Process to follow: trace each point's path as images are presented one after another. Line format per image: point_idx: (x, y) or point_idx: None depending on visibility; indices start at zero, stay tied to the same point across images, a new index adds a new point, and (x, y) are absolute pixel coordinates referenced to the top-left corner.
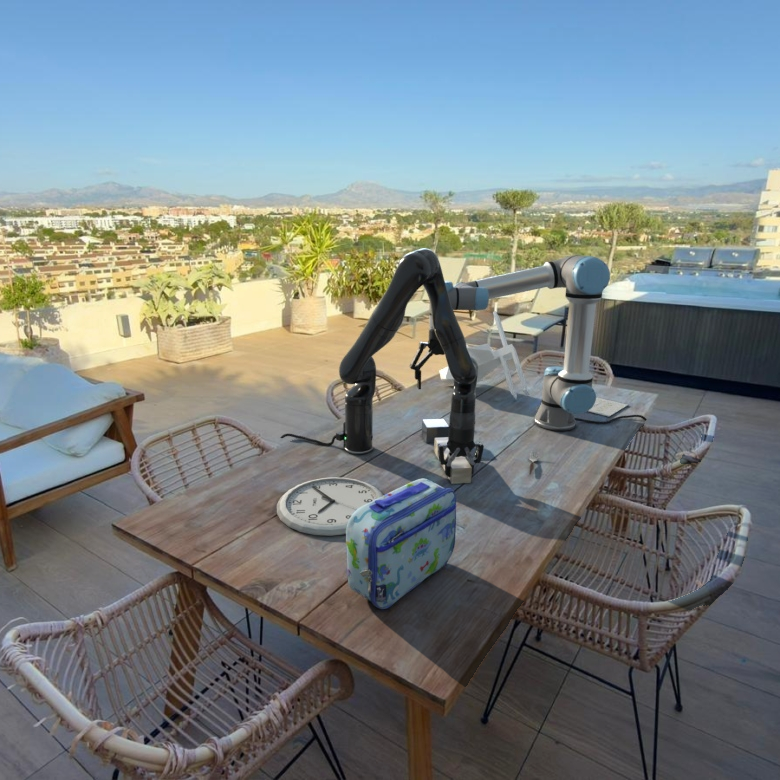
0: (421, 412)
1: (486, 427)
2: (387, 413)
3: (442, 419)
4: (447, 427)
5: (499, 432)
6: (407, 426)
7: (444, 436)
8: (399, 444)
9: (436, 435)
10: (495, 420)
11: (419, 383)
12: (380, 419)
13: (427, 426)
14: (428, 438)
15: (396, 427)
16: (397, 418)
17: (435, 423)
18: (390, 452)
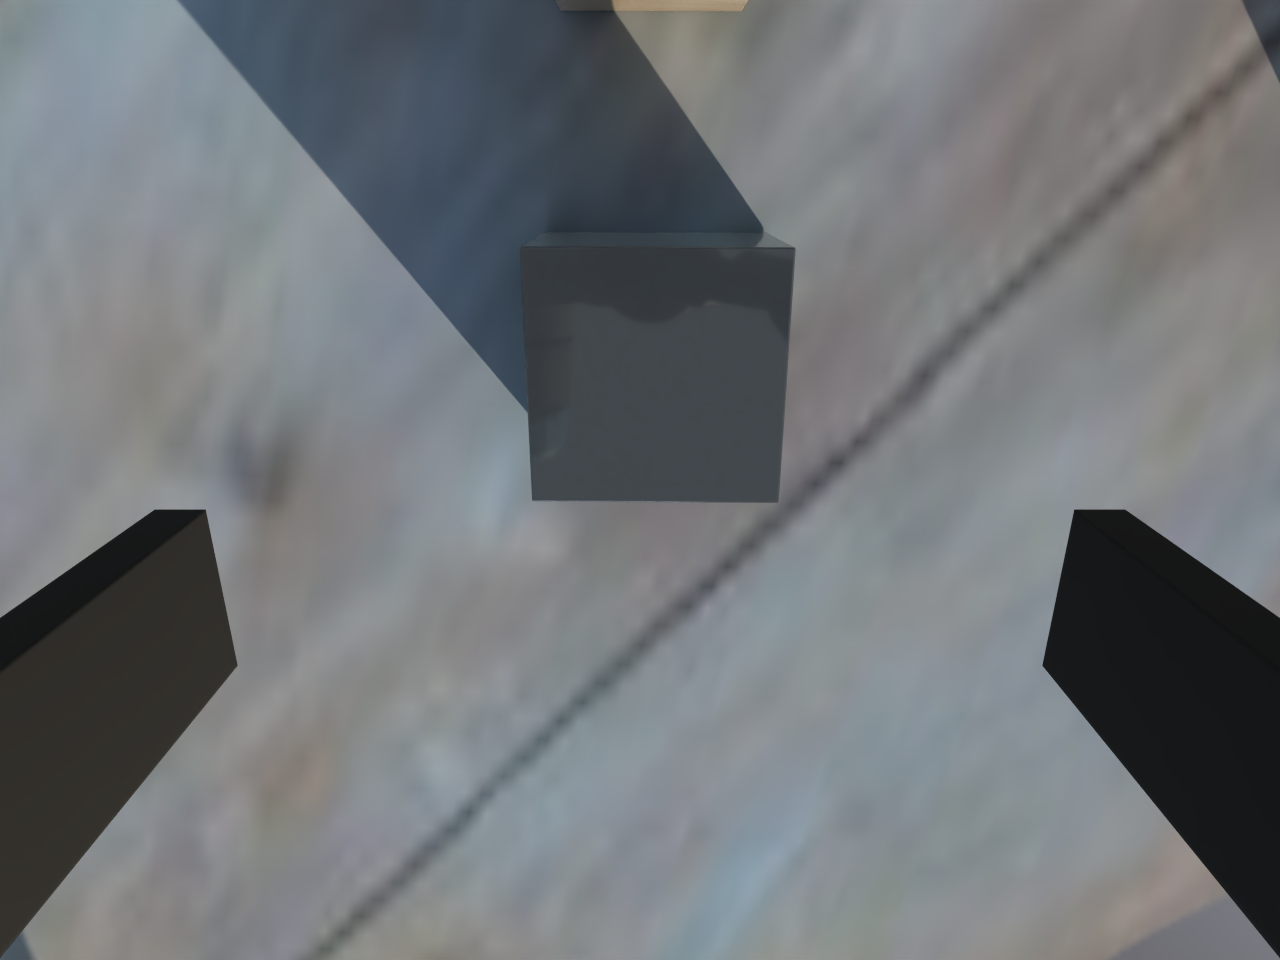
0: (636, 901)
1: None
2: (922, 907)
3: (551, 482)
4: (540, 246)
5: (5, 425)
6: (834, 640)
7: (581, 237)
8: (1037, 233)
9: (670, 237)
10: None
11: (1202, 577)
12: (1020, 801)
13: (780, 279)
14: (754, 235)
15: (938, 629)
16: (870, 807)
17: (660, 365)
18: (1197, 30)
